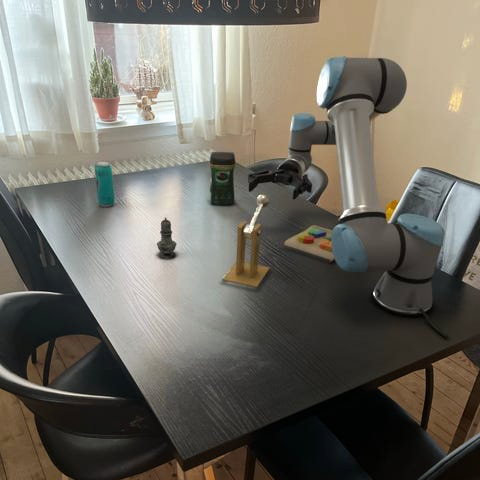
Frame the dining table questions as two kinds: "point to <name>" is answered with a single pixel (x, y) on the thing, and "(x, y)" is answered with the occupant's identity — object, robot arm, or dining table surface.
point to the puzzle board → (313, 242)
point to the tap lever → (256, 215)
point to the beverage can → (104, 183)
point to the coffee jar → (222, 178)
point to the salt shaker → (166, 241)
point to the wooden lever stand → (244, 271)
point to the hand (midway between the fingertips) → (271, 191)
